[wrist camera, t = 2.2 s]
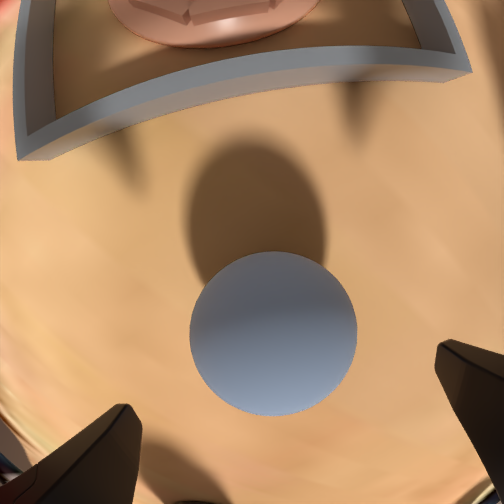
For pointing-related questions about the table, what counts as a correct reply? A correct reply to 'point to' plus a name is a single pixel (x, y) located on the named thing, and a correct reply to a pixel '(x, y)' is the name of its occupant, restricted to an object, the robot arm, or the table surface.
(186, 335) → the table surface
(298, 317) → the ball
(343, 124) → the table surface
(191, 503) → the supplement bottle
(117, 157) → the table surface
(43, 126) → the grey rectangular frame
